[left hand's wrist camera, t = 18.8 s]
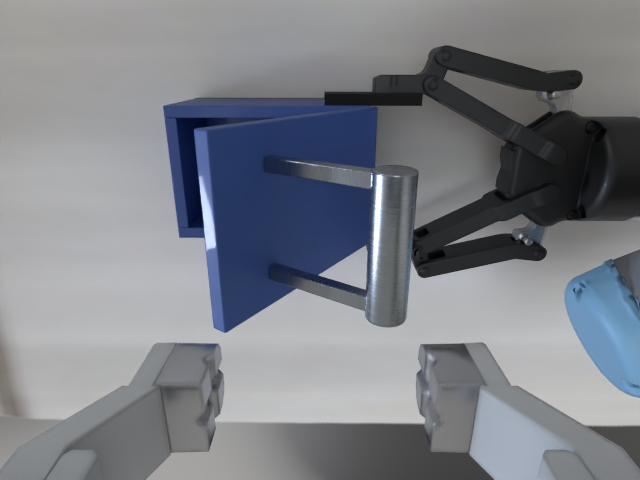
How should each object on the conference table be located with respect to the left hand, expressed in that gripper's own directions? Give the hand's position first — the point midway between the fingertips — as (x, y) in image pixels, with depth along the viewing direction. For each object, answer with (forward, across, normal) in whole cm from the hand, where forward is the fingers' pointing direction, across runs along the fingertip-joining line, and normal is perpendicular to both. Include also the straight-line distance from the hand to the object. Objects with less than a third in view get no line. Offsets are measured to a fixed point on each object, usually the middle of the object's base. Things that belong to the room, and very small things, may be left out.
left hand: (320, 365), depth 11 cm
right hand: (+23, 0, 0) cm, 23 cm away
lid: (+15, +1, 0) cm, 15 cm away
